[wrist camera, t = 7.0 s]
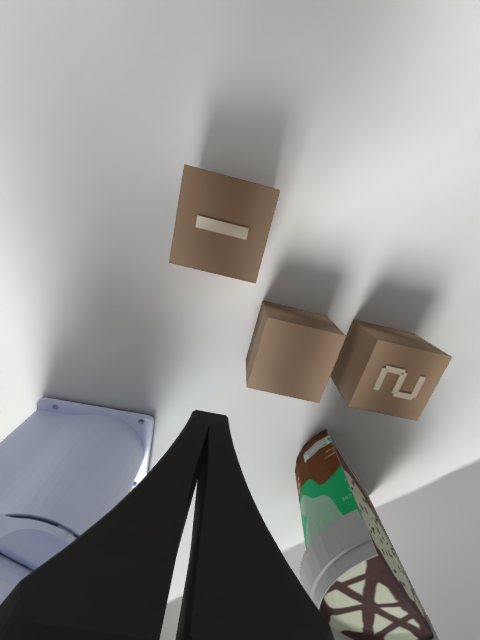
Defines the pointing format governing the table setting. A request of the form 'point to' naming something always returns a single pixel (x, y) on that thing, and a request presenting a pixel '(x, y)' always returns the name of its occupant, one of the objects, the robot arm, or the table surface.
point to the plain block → (292, 352)
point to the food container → (351, 554)
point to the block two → (387, 370)
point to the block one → (222, 224)
